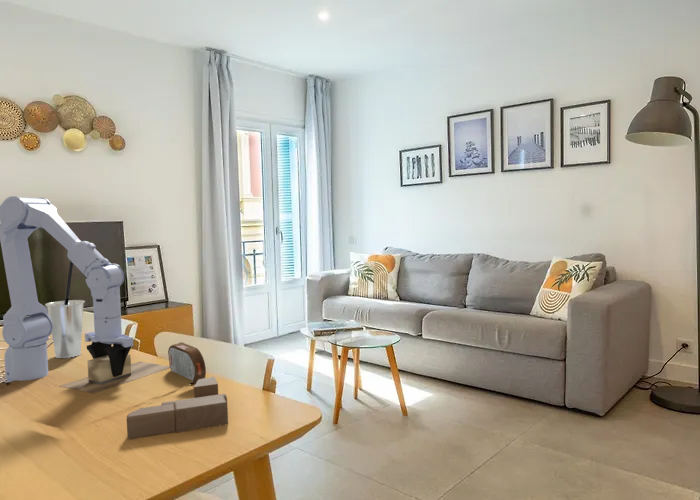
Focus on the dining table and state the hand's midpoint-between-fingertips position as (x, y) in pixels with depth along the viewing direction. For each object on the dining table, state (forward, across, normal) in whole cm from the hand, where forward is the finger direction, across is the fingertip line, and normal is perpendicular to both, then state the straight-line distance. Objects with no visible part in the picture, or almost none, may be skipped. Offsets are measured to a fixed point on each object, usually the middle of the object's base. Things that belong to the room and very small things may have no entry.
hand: (110, 374), depth 123 cm
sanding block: (+1, 0, 0) cm, 1 cm away
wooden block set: (+3, +30, -8) cm, 31 cm away
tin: (+2, +14, +10) cm, 18 cm away
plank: (+2, 0, +2) cm, 3 cm away
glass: (+2, -34, +12) cm, 36 cm away
